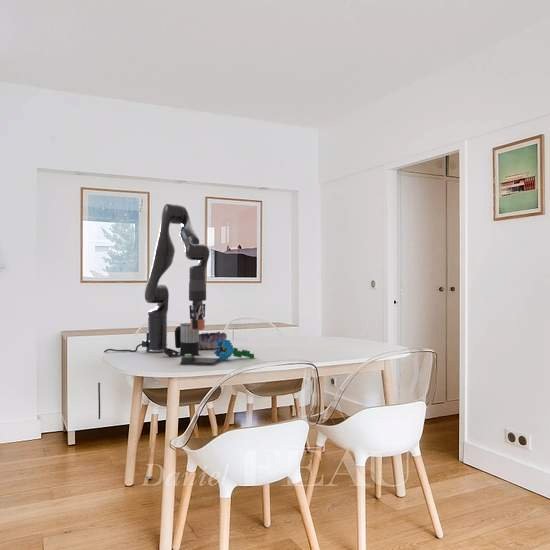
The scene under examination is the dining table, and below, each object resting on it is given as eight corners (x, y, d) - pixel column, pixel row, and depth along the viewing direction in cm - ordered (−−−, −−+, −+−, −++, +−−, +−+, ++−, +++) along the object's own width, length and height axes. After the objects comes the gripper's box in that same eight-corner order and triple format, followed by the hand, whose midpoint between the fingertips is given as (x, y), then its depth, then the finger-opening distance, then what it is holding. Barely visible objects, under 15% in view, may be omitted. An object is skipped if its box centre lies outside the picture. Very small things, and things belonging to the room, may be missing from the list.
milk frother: (202, 354, 259) (202, 323, 259) (187, 358, 244) (187, 326, 244) (176, 352, 263) (176, 322, 263) (159, 357, 248) (159, 325, 248)
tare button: (183, 358, 228) (183, 354, 228) (186, 357, 231) (186, 353, 231) (190, 358, 228) (190, 354, 228) (192, 357, 230) (192, 353, 230)
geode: (192, 351, 268) (190, 331, 269) (185, 351, 279) (184, 332, 280) (230, 347, 277) (228, 328, 278) (222, 347, 287) (220, 329, 289)
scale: (179, 364, 227) (179, 357, 227) (189, 360, 239) (189, 353, 239) (211, 366, 224) (211, 358, 224) (220, 361, 236) (220, 354, 236)
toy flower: (255, 367, 242) (219, 359, 234) (246, 364, 250) (211, 357, 242) (259, 347, 243) (224, 339, 235) (251, 345, 251) (216, 337, 243)
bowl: (188, 330, 231) (188, 319, 231) (193, 328, 237) (193, 318, 237) (201, 330, 230) (201, 319, 230) (206, 329, 236) (206, 318, 236)
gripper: (195, 289, 241) (195, 326, 241) (183, 290, 227) (183, 329, 227) (211, 289, 240) (211, 327, 240) (200, 290, 226) (200, 330, 226)
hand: (197, 328), depth 233 cm, fingers closed on bowl, 6 cm apart
